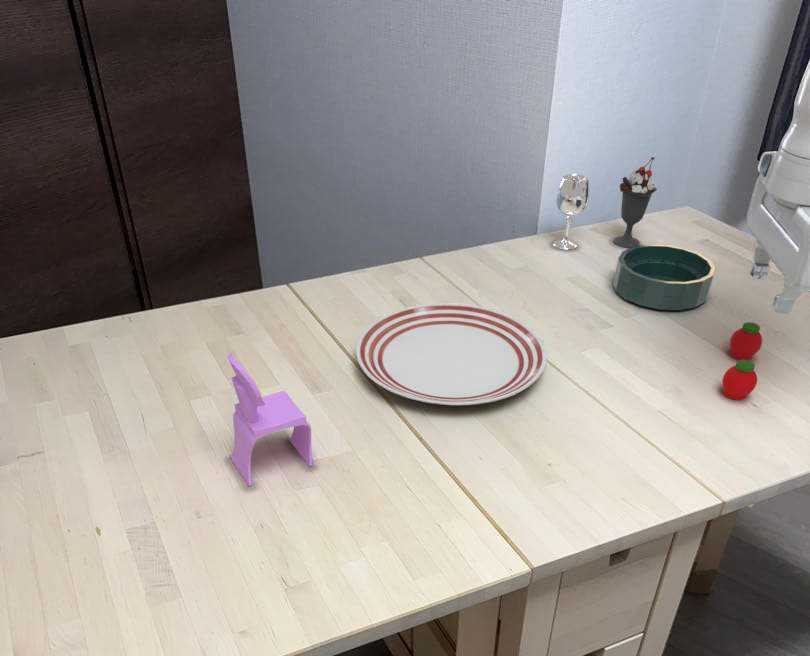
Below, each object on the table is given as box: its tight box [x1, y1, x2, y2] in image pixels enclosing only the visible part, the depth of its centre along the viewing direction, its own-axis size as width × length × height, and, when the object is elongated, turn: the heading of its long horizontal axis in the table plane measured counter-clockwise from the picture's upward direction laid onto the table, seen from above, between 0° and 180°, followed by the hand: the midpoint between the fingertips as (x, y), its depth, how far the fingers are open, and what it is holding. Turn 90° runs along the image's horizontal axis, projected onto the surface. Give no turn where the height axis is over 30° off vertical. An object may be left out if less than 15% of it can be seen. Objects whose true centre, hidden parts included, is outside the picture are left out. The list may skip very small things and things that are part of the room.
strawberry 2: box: [729, 321, 763, 361], centre depth 111 cm, size 4×4×5 cm
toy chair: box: [227, 352, 313, 487], centre depth 87 cm, size 8×9×15 cm
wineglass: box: [552, 173, 590, 250], centre depth 138 cm, size 6×6×12 cm
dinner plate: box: [355, 302, 548, 406], centre depth 108 cm, size 28×27×3 cm
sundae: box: [612, 156, 658, 249], centre depth 138 cm, size 7×7×15 cm
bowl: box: [612, 243, 717, 311], centre depth 126 cm, size 16×16×5 cm
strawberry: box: [722, 360, 758, 401], centre depth 103 cm, size 4×4×5 cm
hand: (768, 293), depth 94 cm, fingers open, 8 cm apart
